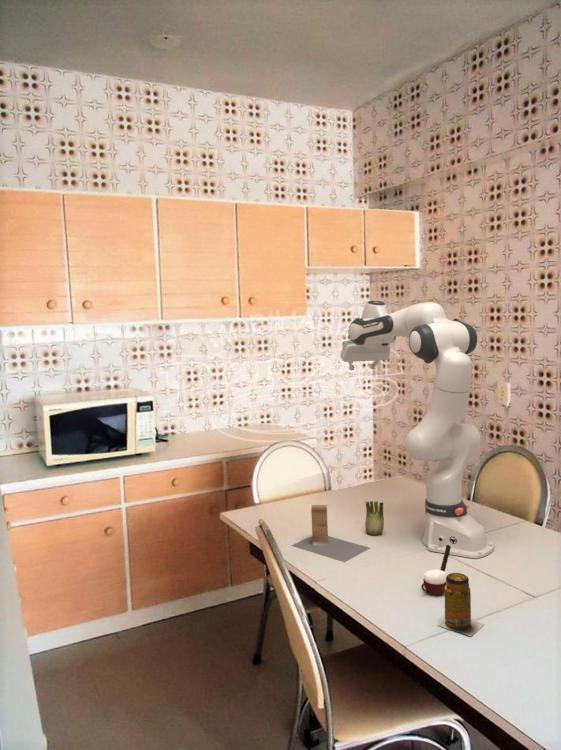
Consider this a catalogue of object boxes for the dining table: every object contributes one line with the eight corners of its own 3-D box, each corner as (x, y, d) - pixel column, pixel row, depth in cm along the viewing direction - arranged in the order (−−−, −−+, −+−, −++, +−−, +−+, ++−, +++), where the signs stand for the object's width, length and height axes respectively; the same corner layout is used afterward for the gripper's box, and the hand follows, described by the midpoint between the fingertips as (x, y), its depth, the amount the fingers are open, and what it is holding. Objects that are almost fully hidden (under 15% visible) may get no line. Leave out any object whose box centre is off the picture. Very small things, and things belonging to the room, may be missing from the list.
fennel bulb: (385, 534, 206) (384, 500, 205) (378, 539, 203) (377, 504, 201) (370, 531, 210) (369, 497, 209) (363, 535, 206) (362, 501, 205)
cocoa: (423, 599, 160) (421, 557, 158) (417, 588, 166) (414, 547, 164) (458, 595, 160) (456, 553, 159) (451, 584, 166) (448, 543, 165)
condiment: (452, 614, 151) (451, 568, 150) (484, 625, 145) (484, 577, 144) (437, 626, 146) (436, 578, 144) (470, 637, 140) (470, 588, 139)
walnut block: (313, 539, 203) (311, 505, 202) (328, 539, 203) (326, 504, 202) (312, 545, 198) (311, 509, 197) (327, 545, 198) (326, 509, 197)
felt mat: (370, 549, 194) (370, 547, 194) (344, 563, 184) (344, 562, 184) (318, 534, 209) (317, 533, 209) (291, 546, 199) (291, 545, 199)
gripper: (347, 343, 232) (341, 374, 239) (394, 341, 238) (387, 371, 245) (341, 335, 237) (335, 366, 244) (387, 334, 243) (380, 364, 250)
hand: (361, 369), depth 244 cm, fingers open, 8 cm apart
